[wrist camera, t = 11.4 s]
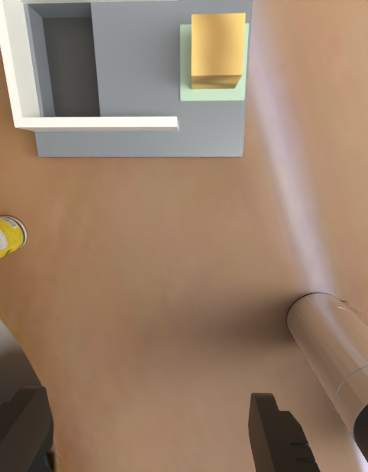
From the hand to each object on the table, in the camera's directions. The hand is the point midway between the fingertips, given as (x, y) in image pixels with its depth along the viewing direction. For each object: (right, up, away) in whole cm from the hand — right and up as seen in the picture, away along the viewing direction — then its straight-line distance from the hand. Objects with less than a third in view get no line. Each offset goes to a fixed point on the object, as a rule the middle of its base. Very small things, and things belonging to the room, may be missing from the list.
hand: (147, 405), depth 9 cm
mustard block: (+5, +26, +18) cm, 32 cm away
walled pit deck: (-4, +27, +22) cm, 35 cm away
